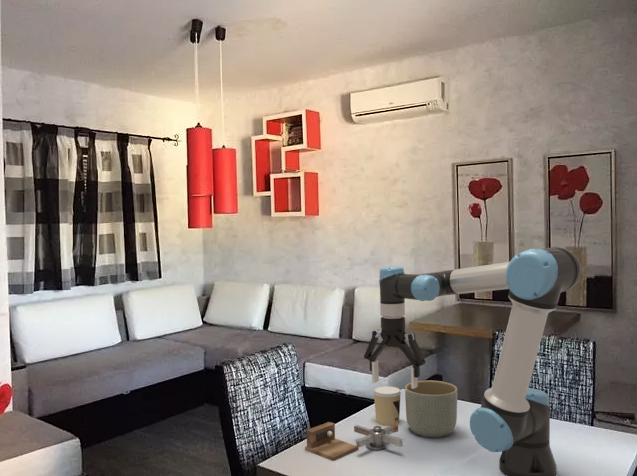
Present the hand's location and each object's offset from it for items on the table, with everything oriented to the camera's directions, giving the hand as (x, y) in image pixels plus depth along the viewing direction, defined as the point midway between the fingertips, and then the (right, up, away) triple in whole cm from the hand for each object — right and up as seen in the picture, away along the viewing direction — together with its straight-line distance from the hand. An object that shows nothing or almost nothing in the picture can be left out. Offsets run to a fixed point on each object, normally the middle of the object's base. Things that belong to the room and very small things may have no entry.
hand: (394, 384), depth 182 cm
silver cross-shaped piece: (-5, -19, -2) cm, 20 cm away
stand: (-13, -20, -2) cm, 24 cm away
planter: (+14, -19, +12) cm, 26 cm away
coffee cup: (0, -19, +21) cm, 28 cm away
